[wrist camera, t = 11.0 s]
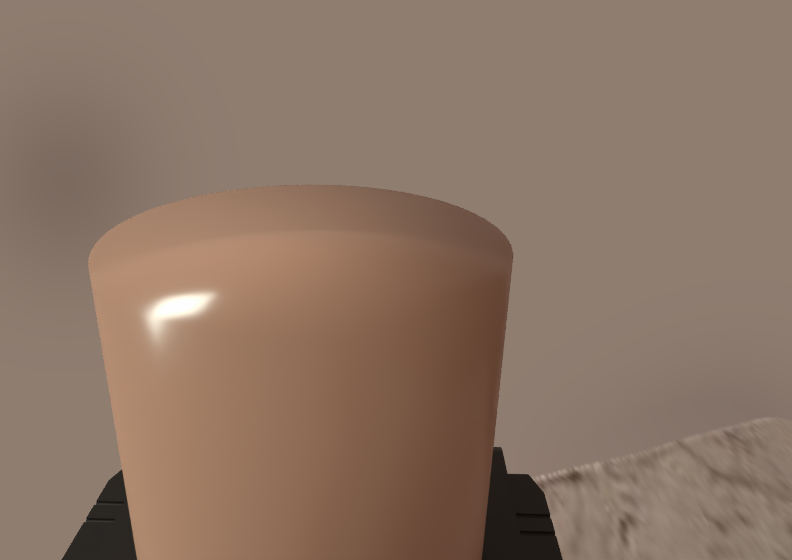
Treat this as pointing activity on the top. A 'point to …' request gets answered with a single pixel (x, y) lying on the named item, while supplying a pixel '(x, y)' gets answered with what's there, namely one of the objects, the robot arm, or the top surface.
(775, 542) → the top surface
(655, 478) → the top surface
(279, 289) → the terracotta canister
